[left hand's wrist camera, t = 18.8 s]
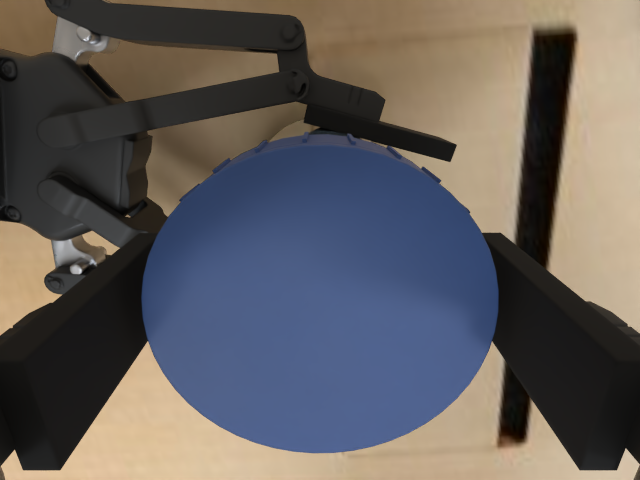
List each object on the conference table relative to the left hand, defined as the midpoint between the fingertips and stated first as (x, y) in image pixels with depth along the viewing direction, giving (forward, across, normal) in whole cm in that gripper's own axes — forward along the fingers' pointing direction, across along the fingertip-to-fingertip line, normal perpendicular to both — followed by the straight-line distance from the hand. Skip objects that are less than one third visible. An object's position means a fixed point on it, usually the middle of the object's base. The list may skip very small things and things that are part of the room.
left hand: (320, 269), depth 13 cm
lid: (-3, 0, 0) cm, 3 cm away
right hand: (+6, -5, +1) cm, 8 cm away
